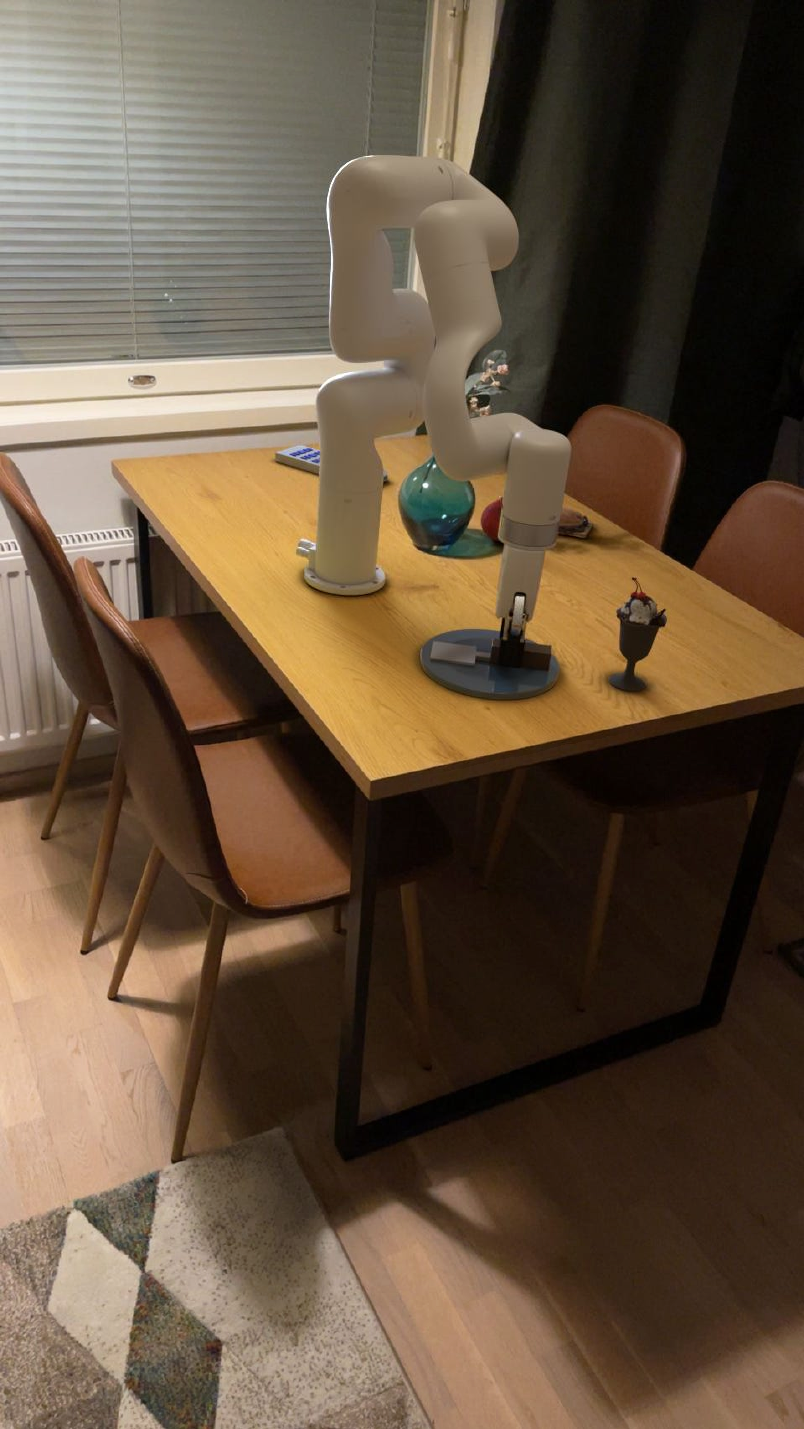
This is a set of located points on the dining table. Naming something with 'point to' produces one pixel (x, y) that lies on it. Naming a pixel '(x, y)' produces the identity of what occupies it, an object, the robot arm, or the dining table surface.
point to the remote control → (304, 459)
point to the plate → (486, 670)
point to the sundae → (636, 636)
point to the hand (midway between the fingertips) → (510, 652)
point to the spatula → (490, 654)
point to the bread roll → (574, 523)
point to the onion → (492, 519)
